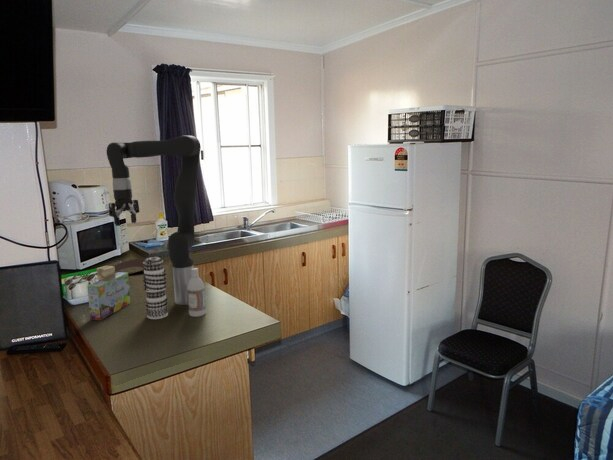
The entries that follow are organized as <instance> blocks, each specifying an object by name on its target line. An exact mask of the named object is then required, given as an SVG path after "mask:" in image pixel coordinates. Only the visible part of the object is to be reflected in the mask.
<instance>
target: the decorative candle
mask: <svg viewBox="0 0 613 460" xmlns="http://www.w3.org/2000/svg"><path fill="white" fill-rule="evenodd" d="M146 258H147V259H146V260H145V262H143V264H144V270H143V273H144V274H143V276H142V278H143V280H142V281H143V287H144V288H143V290H144V292H145V294H146V297H145V299H146V301H145V303H146V305H145V306H146V315H147V316H146V318H147V319H150V320H160V319H163V318H166V317H168V315H169V310H168V307H169V306H168V302H167V301H168V298H167V294H166V289H167V286H166V284H167V281H166V280H167V278H166V277H165V276H166V275H167V273H166V271H167V270H166V269H165V267H164V260H163V259H162V258H161V257H159V256H152V257H151V256H150V257H146Z"/></svg>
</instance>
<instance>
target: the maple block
mask: <svg viewBox="0 0 613 460" xmlns="http://www.w3.org/2000/svg"><path fill="white" fill-rule="evenodd" d="M115 273H116V271H115V267H113V265H103V266H100V267H97V268H96V276H97V280H98V281H99V280H103V281H108V280H111V279H114V278H116V276H115Z"/></svg>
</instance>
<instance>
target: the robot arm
mask: <svg viewBox="0 0 613 460" xmlns="http://www.w3.org/2000/svg"><path fill="white" fill-rule="evenodd" d="M200 153H201V143H200V140H199V139H198V138H197V137H196V136H194V135H189V134H188V135H185V134H183V135H181V136H177V137H173V138H169V139H164V140H163V139H162V140H137V141H132V142H131V141H130V142H111V143H109V144H108V145H107V147H106V157H107V160H108V163H109V166H110V168H111V176H112V191H113V199H114V202H108V212H109V213H108V215H109V217H111V218H113V222H114V225H115V226H117V227H120V226H121V219H120V216H121V214H122V212H126V211H127V212H129V213H130V220H131V221H130V222H131V223H132V224H135V223H136V222H137V214H139V213H140V205H139V200H138V199H132V198H133V193H132V192H133V191H132V182H131V179H130V170H129V169H130V168H129V166H128V165H127V164H126V163H125V161H124V159H125V160H126V159H132V158H136V159H137V158H138V159H139V158H141V159H142V158H151V157H159V156H175V157H181V165H180V169H179V173H178V176H177V179H176V182H175V186H174V196H173V199H174V206H175V209H176V212H177V216H178V223H177V224H178V225H177V231H175V232H173V233H171V234H170V236H168V237H169V238H168V243H167V244H168V252H169V260H170V262H171V266H172V277H173V278H172V279H173V280H172V281H173V290H174V291H173V293H174V303H175V305H180V306H183V305H184V306H185V305H186V306H188V292H187V287H188V283H189V281H190V279H191V277H192V276H191V269H192V268H195V267H194V259H193V257H191V256H190V254H189V253H190V251H189V249H190V248H192V247H193V246H194V244H195V240H196V239H195V213H196V201H197V184H198V183H197V182H198V180H197V179H198V165H199V161H200Z"/></svg>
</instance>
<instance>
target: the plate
mask: <svg viewBox="0 0 613 460" xmlns="http://www.w3.org/2000/svg"><path fill="white" fill-rule="evenodd" d="M147 258H148V257H143V258H133V259H129V260H126V261H122V262H120V263H117V264H115V265H114V266H113V265H112V266H113V267H115V272H117V271H121V270H125V269H129V268H131V269H132V270H134V268H142V269H141V270H137V271H136V270H135V271H133V272H132V271H131V272H127V273H128V275H130V274H131V275H132V274H134V273H137V272H143V271H144V264H143V262H145V260H146V259H147Z"/></svg>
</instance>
